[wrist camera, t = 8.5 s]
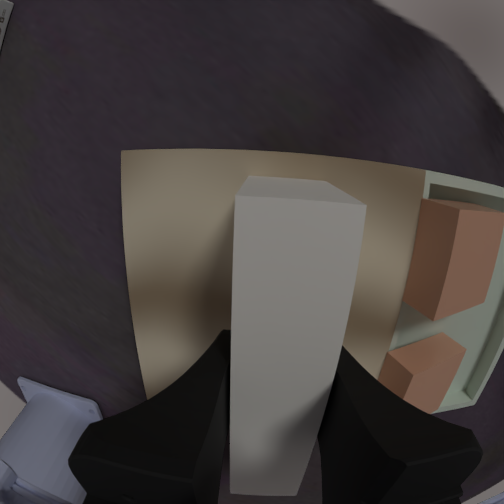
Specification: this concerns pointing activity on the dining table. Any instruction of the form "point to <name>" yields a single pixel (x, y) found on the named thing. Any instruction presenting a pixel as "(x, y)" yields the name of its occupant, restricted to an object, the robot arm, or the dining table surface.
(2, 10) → the supplement box
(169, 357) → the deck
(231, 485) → the push bar
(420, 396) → the tile
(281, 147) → the dining table surface
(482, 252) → the tile
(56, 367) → the dining table surface
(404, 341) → the tray
